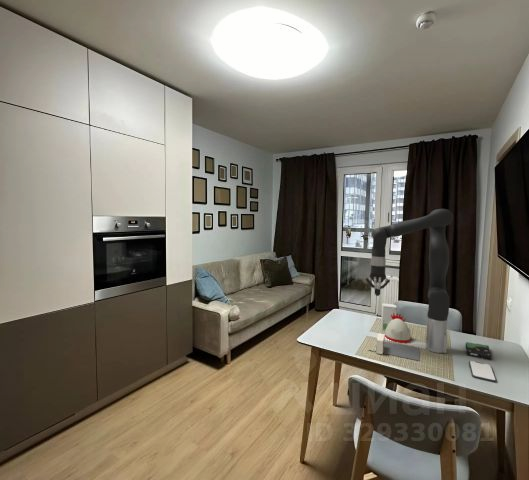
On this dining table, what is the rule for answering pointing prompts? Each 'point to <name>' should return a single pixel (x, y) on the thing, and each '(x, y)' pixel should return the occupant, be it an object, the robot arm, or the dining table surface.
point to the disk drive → (478, 351)
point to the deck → (380, 343)
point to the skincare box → (387, 314)
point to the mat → (401, 351)
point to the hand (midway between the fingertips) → (377, 295)
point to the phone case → (482, 371)
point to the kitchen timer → (397, 330)
